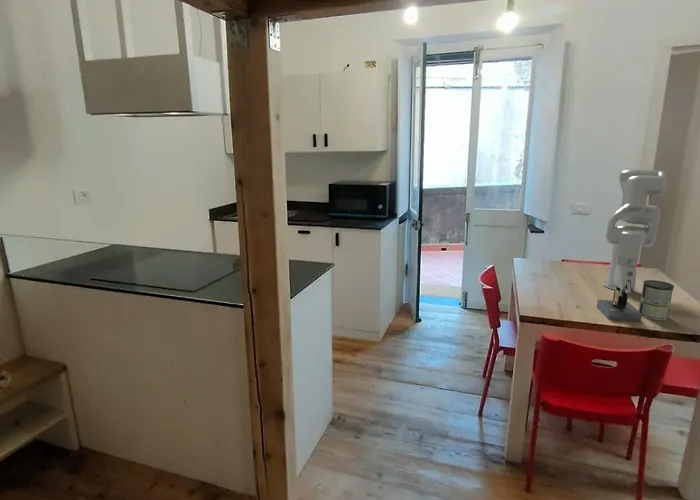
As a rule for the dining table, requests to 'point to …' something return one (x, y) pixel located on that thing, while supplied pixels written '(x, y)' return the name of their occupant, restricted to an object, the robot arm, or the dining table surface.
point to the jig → (619, 311)
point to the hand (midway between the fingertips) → (619, 302)
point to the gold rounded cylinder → (617, 300)
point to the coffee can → (656, 299)
